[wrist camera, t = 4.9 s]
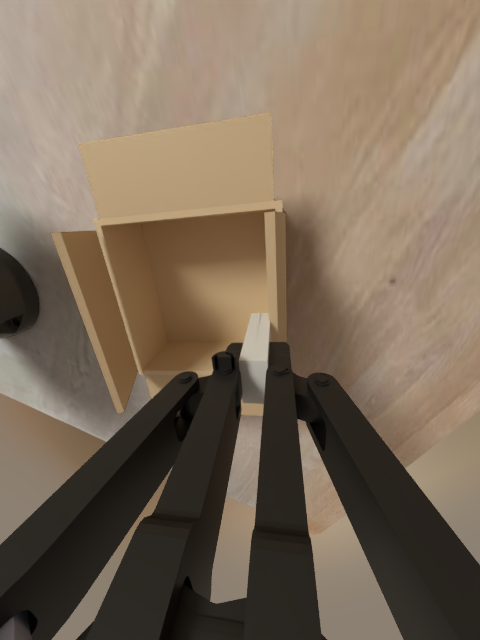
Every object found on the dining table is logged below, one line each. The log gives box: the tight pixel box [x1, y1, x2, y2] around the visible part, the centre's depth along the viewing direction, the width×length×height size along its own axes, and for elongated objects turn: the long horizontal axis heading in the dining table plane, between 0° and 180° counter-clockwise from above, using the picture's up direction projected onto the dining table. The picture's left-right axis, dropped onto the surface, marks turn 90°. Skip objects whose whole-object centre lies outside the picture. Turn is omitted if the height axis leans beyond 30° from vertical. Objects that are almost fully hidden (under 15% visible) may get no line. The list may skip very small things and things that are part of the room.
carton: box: [78, 112, 282, 416], centre depth 29 cm, size 18×30×8 cm, turn 5°
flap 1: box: [51, 231, 138, 414], centre depth 22 cm, size 1×16×7 cm, turn 5°
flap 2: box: [264, 211, 287, 343], centre depth 20 cm, size 1×16×7 cm, turn 4°
